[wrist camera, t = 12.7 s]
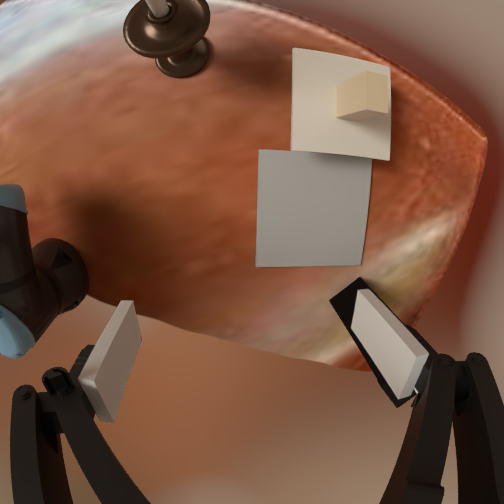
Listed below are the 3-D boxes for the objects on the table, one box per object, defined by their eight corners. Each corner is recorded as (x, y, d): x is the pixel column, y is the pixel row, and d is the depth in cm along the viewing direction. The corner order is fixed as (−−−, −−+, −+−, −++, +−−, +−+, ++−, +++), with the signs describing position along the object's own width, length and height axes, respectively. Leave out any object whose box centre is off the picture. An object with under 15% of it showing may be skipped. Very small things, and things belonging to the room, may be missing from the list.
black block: (345, 323, 57) (405, 423, 31) (327, 299, 55) (391, 404, 28) (375, 301, 56) (449, 390, 30) (359, 275, 54) (441, 365, 27)
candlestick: (212, 23, 36) (195, -129, 3) (217, 77, 40) (197, -67, 7) (149, 35, 36) (56, -86, 3) (152, 88, 39) (23, -4, 7)
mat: (255, 265, 51) (255, 266, 50) (258, 149, 44) (259, 149, 44) (359, 264, 53) (360, 265, 52) (370, 158, 46) (372, 158, 46)
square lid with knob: (290, 150, 39) (311, 149, 29) (292, 49, 34) (311, 20, 24) (387, 160, 40) (427, 165, 30) (387, 68, 35) (425, 52, 25)
